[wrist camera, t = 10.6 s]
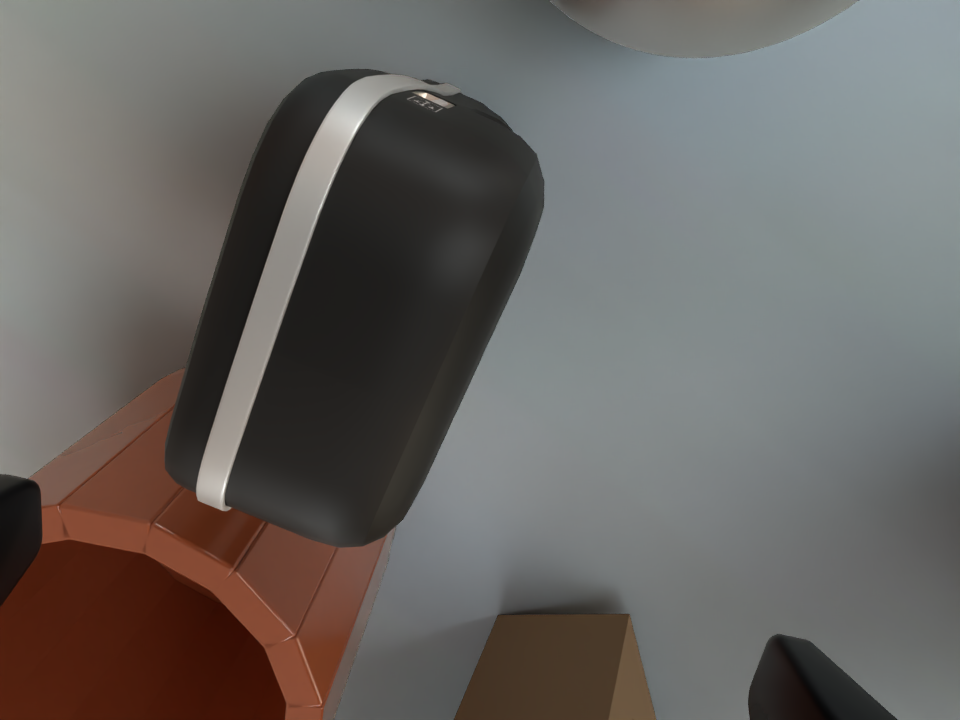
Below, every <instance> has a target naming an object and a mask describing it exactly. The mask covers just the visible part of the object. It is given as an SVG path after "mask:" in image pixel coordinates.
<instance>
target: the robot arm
mask: <svg viewBox="0 0 960 720" xmlns="http://www.w3.org/2000/svg"><path fill="white" fill-rule="evenodd" d="M42 536H43V533H42V508H41V491H40V487H39V485H38V484H37V483H36V482H35V481H34V480H31V479H26V478H21V477H17V476H12V475H6V474H0V607H1V605H2V604H3V603H4V601H5V600H6V599H7V597H8V596H9V594H10V593H11V592H12V590H13V589H14V587H15V586H16V585H17V583H18V582H19V580H20V579H21V578H22V576H23V575H24V573H25V572H26V571H27V569H28V568H29V567H30V565H31V564H32V562H33V561H34V560H35V558H36V556H37V554H38V552H39V550H40V547H41V544H42ZM748 708H749V716H750V720H897V719H896V718H895V717H894V716H893V715H892V714H891V713H890V712H888V711H887V710H886V709H885V708H884V707H883V706H882V705H881V704H880V703H878V702H877V701H876V700H875V699H874V698H873V697H872V696H871V695H870V694H868V693H867V692H866V691H865V690H864V689H863V688H862V687H861V686H860V685H858V684H857V683H856V682H855V681H854V680H853V679H852V678H851V677H850V676H848V675H847V674H846V673H845V672H844V671H843V670H842V669H841V668H840V667H838V666H837V665H836V664H835V663H834V662H833V661H832V660H831V659H830V658H828V657H827V656H826V655H825V654H824V653H823V652H822V651H821V650H820V649H818V648H817V647H816V646H815V645H814V644H813V643H811V642H810V641H808V640H806V639H801V638H797V637H792V636H787V635H782V634H776V635H773V636H772V637H771V638H770V639H769V640H768V642H767V644H766V647H765V649H764V652H763V654H762V657H761V660H760V662H759V665H758V667H757V670H756V672H755V675H754V678H753V680H752V683H751V686H750V690H749V697H748Z"/></svg>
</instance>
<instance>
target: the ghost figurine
mask: <svg viewBox="0 0 960 720" xmlns="http://www.w3.org/2000/svg"><path fill="white" fill-rule="evenodd" d="M549 1H551V2H552V3H553V4H554V5H555V6H556V7H557V8H558V9H560V10H561V11H562V12H563V13H565V14H566V15H567V16H568V17H570V18H571V19H573V20H574V21H575V22H577V23H578V24H580V25H581V26H583V27H585V28H586V29H588V30H590V31H591V32H593V33H595V34H597V35H599V36H601V37H603V38H605V39H607V40H609V41H612V42H614V43H617V44H619V45H622V46H625V47H628V48H631V49H634V50H638V51H641V52H645V53H650V54H655V55H661V56H668V57H679V58H711V57H721V56H729V55H735V54H740V53H745V52H750V51H754V50H758V49H761V48H765V47H768V46H771V45H774V44H777V43H780V42H783V41H785V40H788V39H790V38H793V37H795V36H798V35H800V34H802V33H804V32H806V31H809V30H811V29H813V28H815V27H817V26H818V25H820V24H822V23H824V22H826V21H828V20H829V19H831V18H833V17H834V16H836V15H838V14H839V13H841V12H843V11H844V10H846V9H847V8H849V7H850V6H852V5H853V4H855V3H856V2H857V1H859V0H549Z"/></svg>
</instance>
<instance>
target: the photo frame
mask: <svg viewBox="0 0 960 720" xmlns="http://www.w3.org/2000/svg"><path fill="white" fill-rule="evenodd" d="M454 720H656V717H655V713H654V709H653V705H652V701H651V697H650V693H649V689H648V685H647V681H646V677H645V673H644V669H643V665H642V662H641V658H640V654H639V650H638V646H637V642H636V638H635V634H634V630H633V626H632V622H631V618H630V614H560V615H498V616H497V619H496V621H495V623H494V626H493V628H492V630H491V633H490V635H489V638H488V640H487V642H486V645H485V647H484V649H483V652H482V654H481V656H480V659H479V661H478V664H477V666H476V668H475V671H474V673H473V675H472V678H471V680H470V683H469V685H468V687H467V690H466V692H465V694H464V697H463V699H462V701H461V704H460V706H459V709H458V711H457V713H456V716H455V718H454Z"/></svg>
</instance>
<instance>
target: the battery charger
mask: <svg viewBox="0 0 960 720" xmlns="http://www.w3.org/2000/svg"><path fill="white" fill-rule="evenodd" d="M543 208H544V179H543V176H542V172H541V168H540V164H539V161H538V157H537V154H536V153H535V152H534V151H533V150H532V149H531V148H530V146H529V145H528V144H527V143H526V142H525V141H524V140H523V139H522V138H521V137H520V136H519V135H517V134H515V133H514V132H513V131H512V129H511V128H510V127H509V126H508V125H507V123H506V122H505V121H504V120H503V119H502V118H501V117H500V116H499V115H497V114H496V113H494V112H493V111H491V110H490V109H489V108H488V107H486V106H485V105H484V104H483V103H481V102H478V101H476V100H474V99H472V98H470V97H467V96H465V95H463V94H461V90H460V89H459V88H457V87H454V86H452V85H450V84H448V83H444V84H439V83H437V82H434V81H431V80H428V79H427V80H421V81H420V80H418V79H415V78H412V77H409V76H404V75H397V74H388V73H385V72H381V71H376V70H369V69H346V70H334V71H326V72H320V73H318V74H315V75H313V76H311V77H308V78H306V79H305V80H303V81H302V82H301V83H300V84H299V85H298V86H296V87H295V88H294V89H293V90H292V91H291V92H290V93H289V94H288V95H287V96H286V97H285V98H284V99H283V100H282V102H281V103H280V105H279V106H278V108H277V109H276V111H275V112H274V114H273V116H272V117H271V119H270V120H269V122H268V123H267V125H266V127H265V130H264V132H263V134H262V136H261V138H260V140H259V142H258V144H257V147H256V149H255V151H254V153H253V155H252V158H251V161H250V164H249V166H248V169H247V172H246V175H245V178H244V181H243V183H242V186H241V189H240V192H239V195H238V198H237V201H236V204H235V208H234V211H233V214H232V217H231V220H230V224H229V227H228V230H227V233H226V236H225V240H224V243H223V246H222V249H221V252H220V256H219V259H218V262H217V265H216V268H215V272H214V275H213V278H212V281H211V284H210V288H209V291H208V294H207V297H206V300H205V304H204V307H203V310H202V313H201V317H200V320H199V324H198V327H197V330H196V334H195V337H194V341H193V344H192V348H191V351H190V354H189V358H188V361H187V365H186V368H185V372H184V375H183V378H182V382H181V385H180V389H179V392H178V396H177V399H176V403H175V406H174V409H173V413H172V416H171V420H170V425H169V429H168V433H167V437H166V441H165V458H164V460H165V470H166V471H167V472H168V474H169V475H170V476H171V477H172V479H173V480H174V481H175V482H176V483H177V484H179V485H180V486H182V487H184V488H186V489H187V490H190V491H192V492H195V493H196V496H197V499H198V501H200V502H202V503H205V504H207V505H210V506H212V507H215V508H217V509H219V510H222V511H228V510H230V509H231V508H234V509H236V510H239V511H241V512H244V513H246V514H249V515H251V516H254V517H256V518H258V519H261V520H263V521H266V522H268V523H271V524H273V525H276V526H278V527H280V528H283V529H285V530H288V531H290V532H293V533H295V534H298V535H300V536H303V537H305V538H307V539H310V540H313V541H317V542H320V543H324V544H327V545H331V546H335V547H338V548H344V547H362V546H365V545H367V544H370V543H372V542H374V541H376V540H379V539H381V538H383V537H385V536H386V535H387V534H388V533H389V532H390V531H391V530H392V529H393V528H394V527H395V526H397V525H398V524H399V523H400V522H401V521H402V520H403V519H404V517H405V515H406V514H407V512H408V510H409V509H410V507H411V505H412V503H413V501H414V500H415V498H416V496H417V494H418V492H419V490H420V489H421V487H422V485H423V483H424V481H425V479H426V477H427V475H428V473H429V470H430V468H431V466H432V464H433V462H434V460H435V457H436V455H437V453H438V451H439V449H440V447H441V444H442V442H443V440H444V438H445V436H446V434H447V431H448V429H449V427H450V425H451V422H452V420H453V418H454V416H455V414H456V412H457V410H458V408H459V405H460V403H461V401H462V399H463V397H464V395H465V392H466V390H467V388H468V386H469V384H470V382H471V380H472V377H473V375H474V373H475V371H476V369H477V367H478V364H479V362H480V360H481V358H482V355H483V353H484V351H485V348H486V346H487V344H488V342H489V340H490V338H491V336H492V334H493V332H494V330H495V328H496V325H497V323H498V321H499V319H500V317H501V315H502V312H503V310H504V308H505V306H506V304H507V302H508V299H509V297H510V295H511V293H512V291H513V289H514V286H515V284H516V282H517V280H518V278H519V276H520V273H521V271H522V268H523V266H524V263H525V260H526V258H527V255H528V252H529V250H530V247H531V244H532V242H533V239H534V236H535V234H536V231H537V228H538V225H539V222H540V218H541V215H542V212H543Z"/></svg>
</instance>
